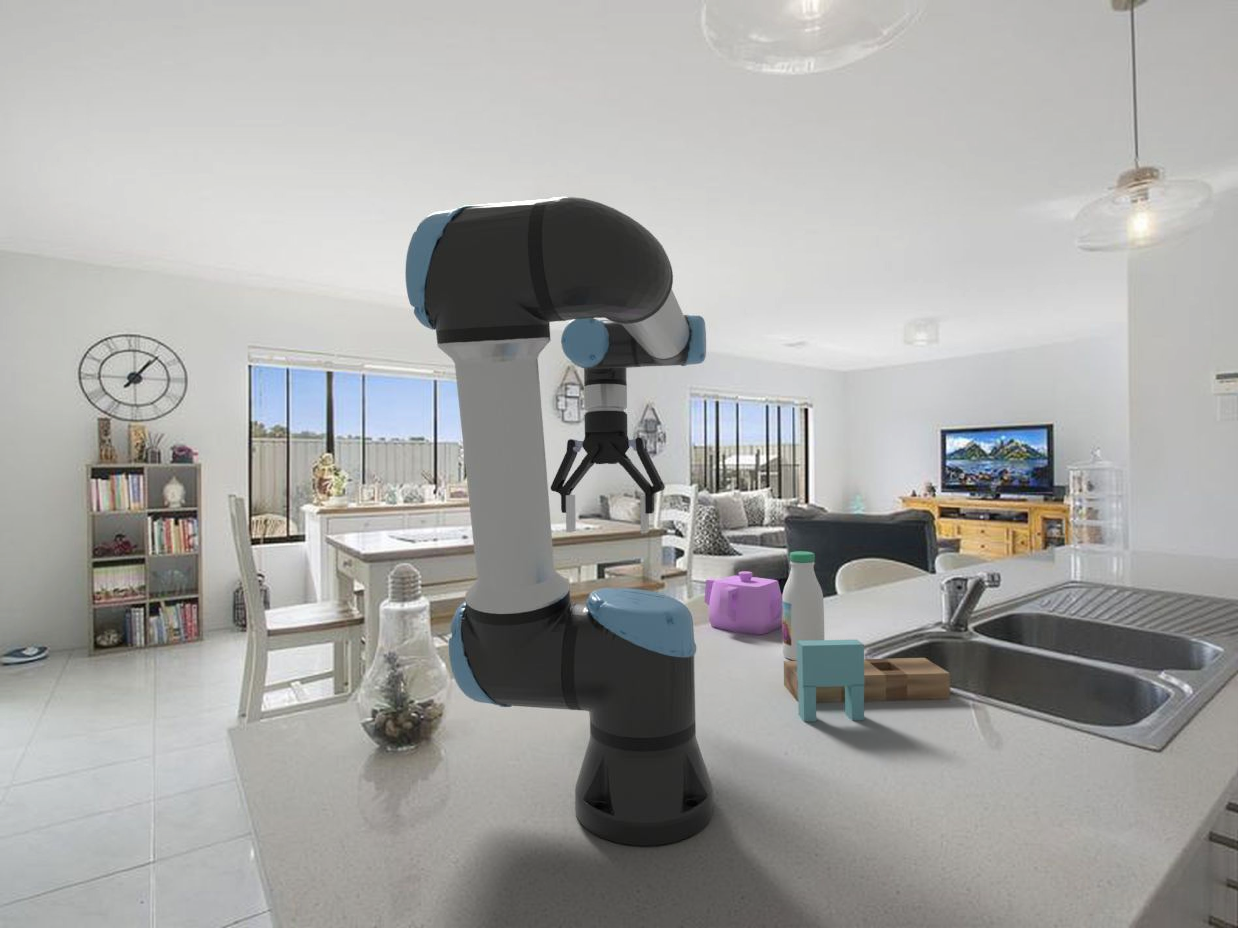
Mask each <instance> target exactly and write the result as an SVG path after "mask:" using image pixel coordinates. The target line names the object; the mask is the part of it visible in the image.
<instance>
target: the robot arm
mask: <svg viewBox="0 0 1238 928" xmlns="http://www.w3.org/2000/svg"><path fill="white" fill-rule="evenodd" d="M408 244H409V245H408V247H407V248H408V249H407V252H406V258H405V285H406V286H405V288H406V292H407V293H406V294H407V298H408V300H409V301H408V302H409V304H410V305H411V306H412V307H413V308H414V309H413V314H414V316H415V318H416V319H417V321H418V322H419V323H420V324H421V325H422V326H424V327H426V328H427V329H429V330H431V331H434V330H435V334H436V342H437V348H439V350H441V351H442V352H443V353H444V354H445V355H446V356H448V357H449V358H450V359H451V360H452V362H453V363H454V369H455V370H454V371H455V378H456V389H457V398H458V406H459V407H458V408H459V409H458V410H459V417H460V425H461V427H460V428H461V435H462V436H461V437H462V446H463V455H464V464H465V465H464V466H465V473H466V484H467V492H468V494H467V496H468V504H469V511H470V523H471V532H472V534H471V535H472V542H473V551H474V560H475V570H476V571H475V572H476V580H475V581H474V582H473V584H472V585H470V587H469V588H468V589H467V590H466V592H465V594H464V595H465V596H464V597H465V598H464V601H463V602H462V603H461V604H460V605H459V607H457V609H456V611H455V613H454V615H453V616H452V620H451V622H450V623H451V624H450V627H449V631H450V632H451V637H449V638H448V658H449V665H450V668H451V672H452V675H453V678H454V680H455V682H456V685H457V686H458V688H459V689H460V691H461V692H462V693H463V694H464V695H465V696H466V697H467V698H469V699H471V700H472V701H474V702H477V703H483V704H490V705H494V706H499V707H500V708H509V707H510V708H511V707H525V708H540V709H554V710H555V709H556V710H570V711H583V712H584V711H585V712H588V714H589V726H590V727H589V741H588V743H587V747H586V751H585V753H584V756H583V760H582V763H581V766H580V767H581V768H580V770H579V772H578V773H579V774H578V777H577V780H576V784H575V789H574V798H575V799H574V802H575V803H574V805H575V807H574V809H575V816H576V817H577V819H578V822H579V823H580V824H581V825H582V826H583V827H585V829H587V830H588V831H589V832H590V833H592V834H594V835H595V836H598V837H600V838H602V839H604V840H606V841H607V840H608V841H611V842H614V843H618V844H624V845H629V846H630V845H632V846H659V845H667V844H671V843H675V842H679V841H683V840H685V839H687V838H689V837H691V836H693V835H695V834H697V833H699V832H701V830H703V829H704V828H705V827H707V825H708V824H709V822H710V821H711V819H712V818H713V817H712V816H713V813H714V797H713V796H714V792H713V791H714V790H713V785H712V781H711V779H710V776H709V773H708V770H707V767H706V763H705V760H704V757H703V754H702V751H701V749H700V745H699V742H698V739H697V734H696V728H697V727H696V726H697V725H696V691H695V690H696V689H695V688H696V686H695V685H696V684H695V673H696V672H695V656H696V653H697V644H696V642H695V633H694V632H695V629H694V620H693V614H692V613H691V611H690V609H689V608H688V607H687V606H686V605H685V604H684V603H683V602H681V601H680V600H677V599H676V598H674V597H671V596H670V595H667V594H663V593H659V592H655V591H650V590H645V589H639V588H631V587H630V588H629V587H619V588H614V587H603V588H600V589H596V590H593V591H592V592H591V593H589V595H588V598H587V599H586V601H585V602H577V601H575V602H574V601H572V600H571V593H570V589H571V588H570V584H569V581H568V580H567V578H566V577H564V576H563V575H561V574H560V573H559V572H558V571H556V570H555V560H554V548H553V535H552V525H551V524H552V523H551V521H552V520H551V511H550V509H551V507H550V499H549V485H548V484H549V483H548V472H547V459H546V449H545V435H544V425H543V424H544V423H543V422H544V421H543V410H542V396H541V385H540V374H539V355H540V353H542V351H543V350H544V349H545V347H546V346H547V345H548V344H549V343H550V342H551V328H550V323H552V322H565V321H569V323H567V325H565V327H564V329H563V332H562V334H561V341H560V342H561V349H562V350H563V353H564V355H565V356H566V358H567V359H568V360H570V361H571V363H572V364H574V366H576V367H580V368H581V369H583V378H584V380H583V382H584V383H583V384H584V385H583V386H584V387H583V388H584V391H583V393H584V394H583V396H584V400H583V401H584V403H583V404H584V407H583V408H584V410H586V411H587V412H585V414H584V438H583V440H578V439H571V438H569V439H568V440H567V443H566V452H565V454H564V456H563V458H562V461H561V462H560V466H559V468H558V469H557V472H556V474H555V476H554V477H553V478H554V479H553V481H552V483H551V485H550V490H551V492H556V493H557V494H559V495H560V507H561V508H560V509H561V510H560V511H561V513H562V514H564V513H565V529H566V530H565V531H566V532H565V533H572V532H576V529H577V526H576V494H572V493H573V491H574V489H575V488H576V487H577V486H578V484H579V483H580V482H581V481H582V479H583V478H584V476H585V475H586V474H587V472H588V471H589V470H590V469H591V467H593V466H594V465H595V464H596V465H606V464H608V465H617V464H620V466H621V467H622V468H623V469H624V470H625V471H626V472H627V473H628V475H629V476H630V477H631V478H632V480H633V481H634V482H635V483H636V484H637V486H638V487H639V488H640V490H642V492H643V493H644V494H641V495H639V496H640V497H639V498H640V502H639V503H640V504H639V505H640V506H639V507H640V510H639V511H640V534H642V535H643V534H647V533H649V532H650V522H649V521H650V518H649V517H650V514H654V512H655V494H656V493H659V492H662V491H664V490H665V488H666V487H665V484H664V482H663V480H662V478H661V476H660V474H659V472H658V469H657V468H656V465H655V464H654V462H653V460H652V458H651V456H650V454H649V452H648V449H647V441H646V439H645V438H643V437H640V436H639V437H637V438H634V439H629V436H628V414H627V412H626V411H625V410H626V409H627V408H628V385H627V369H629V368H642V367H643V368H644V367H663V366H664V367H667V366H668V367H670V366H671V367H672V366H673V367H674V366H682V367H686V366H690V365H699V364H702V363H703V362H705V360H706V357H707V330H706V323H705V319H704V317H703V316H701V315H689V314H684V313H683V311H682V308H681V306H680V304H679V302H678V299H677V298H676V296H675V293H674V291H673V289H672V288H673V284H674V283H673V282H674V274H673V273H674V272H673V267H672V263H671V262H670V259H669V256H668V254H667V252H666V250H665V249H664V247H663V245H662V243H661V242H660V241H659V240H658V238H657V237H655V235H654V234H653V233H651V231H650V230H648V229H647V228H646V227H645V226H643V225H642V224H641V223H639V222H638V221H636V220H635V219H634V218H632V217H630V216H629V215H627V214H625V213H623V212H621V211H619V210H618V209H616V208H614V207H611V206H608V205H606V204H604V203H601V202H599V201H595V200H591V199H588V198H583V197H573V196H561V197H559V196H558V197H552V198H547V199H535V200H524V201H523V200H522V201H512V202H500V203H499V202H498V203H497V202H496V203H486V204H474V205H463V206H461V207H457V208H455V209H454V208H453V209H449V210H443V211H437V212H433V213H431V214H429V215H427V216H425V218H424V219H422V221H421V222H419V224H418V226H417V228H416V230H415V231H414V232H413V234H412V236H411V238H410V241H409V243H408ZM604 318H605V319H604ZM630 447H631V448H632V449H633V451H634V452H636V453H637V455H638V458H639V459H640V461H641V464H642V466H643V467H644V469H645V472H646V474H647V475H648V477H649V480H650V482H651V483H650V482H649V481H648V480H647V478H646V477H645V476H644V475H643V474H642V473H641V472H640V471H639V469H638V468H637V467H636V465H634V463H633V462H632V460H631V459H630V457H629V456H628V455H627V454H626V452H628V450H629V449H630ZM582 448H583V450H584V451H585V453H586V455H585V456H584V457H583V459H582V460H581V463H580V464H579V465H578V466H577V468H576V469H575V470H574V472H573V473H572V474H571V476H569V478H568V479H567V477H568V475H569V474H570V471H571V469H572V467H573V464H574V462H575V461H576V458H577V455H578V453H579V452H581V449H582ZM566 480H567V481H566ZM651 484H652V485H651Z"/></svg>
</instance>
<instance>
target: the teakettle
mask: <svg viewBox="0 0 1238 928" xmlns="http://www.w3.org/2000/svg"><path fill="white" fill-rule="evenodd" d="M753 575H754V573H753V572H752V571H747V570H746V571H738V575H730V576H727V577H723V578H709V579H705V590H704V601H703V602H704V603H706V605H708V620H709V623H710V626H711V627H713V628H715V627H717V628H716V629H720V630H724V631H729V632H735V633H741V634H749V635H756V636H757V635H758V636H761V635H765V634H768V633H771V632H772V631H774V630H777V629H778V628H780V627H782V599H783V592H781V588H780V584H779V581H778V580H777V579H770V578H765V577H764V578H763V577H755V576H753Z"/></svg>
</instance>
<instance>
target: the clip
mask: <svg viewBox="0 0 1238 928" xmlns="http://www.w3.org/2000/svg"><path fill="white" fill-rule="evenodd" d="M864 659H865V644H864V643H862V642H861V641H860V640H858V639H857V638H856V639H824V640H809V641H797V681H798V701H797V702H798V703H797V704H798V716H799V717H800V718H801V720H802V722H804V723H807V722H809V723H810V722H817V702H816V687H831V686H845V701H844V713H845V715H846V716H847V717H848V718H849V719H850V720H851V721H865V701H864Z"/></svg>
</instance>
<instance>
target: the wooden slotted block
mask: <svg viewBox="0 0 1238 928" xmlns="http://www.w3.org/2000/svg"><path fill="white" fill-rule="evenodd" d="M783 685H784V687H785V688H786V689H787V690H788V691H789V693H790V695H792V697H793V698H794V699H795V700H796V702H798V681H797V661H795V660H783ZM950 699H951V673H950V672H949V671H947V670H945V669H944V668H942V667H940V666H939V665H937V664H935V662H934V663H933V662H932V661H931V660H929V659H927V658H925V657H904V658H903V657H900V658H899V657H898V658H869V659H868V658H864V702H868V701H869V702H873V701H874V702H876V701H877V702H879V701H910V700H911V701H912V700H913V701H914V700H915V701H916V700H917V701H918V700H950ZM830 702H831V703H834V702H835V703H836V702H837V703H838V702H840V703H841V702H845V686H831V687H816V703H830Z"/></svg>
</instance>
